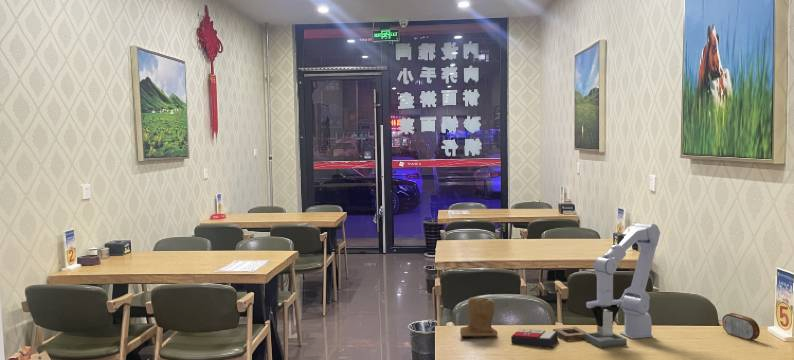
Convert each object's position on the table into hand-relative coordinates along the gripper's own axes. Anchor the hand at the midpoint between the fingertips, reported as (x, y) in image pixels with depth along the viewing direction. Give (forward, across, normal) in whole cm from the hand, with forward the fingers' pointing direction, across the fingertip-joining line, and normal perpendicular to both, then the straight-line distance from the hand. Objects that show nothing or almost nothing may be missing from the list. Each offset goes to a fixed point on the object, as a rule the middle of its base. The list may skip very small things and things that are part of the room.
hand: (604, 325), depth 236 cm
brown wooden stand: (+7, +42, -23) cm, 48 cm away
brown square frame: (+6, +8, -11) cm, 15 cm away
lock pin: (+3, 0, 0) cm, 3 cm away
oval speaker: (+7, -53, +8) cm, 54 cm away
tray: (+6, 0, 0) cm, 6 cm away
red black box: (+7, +25, -8) cm, 27 cm away
